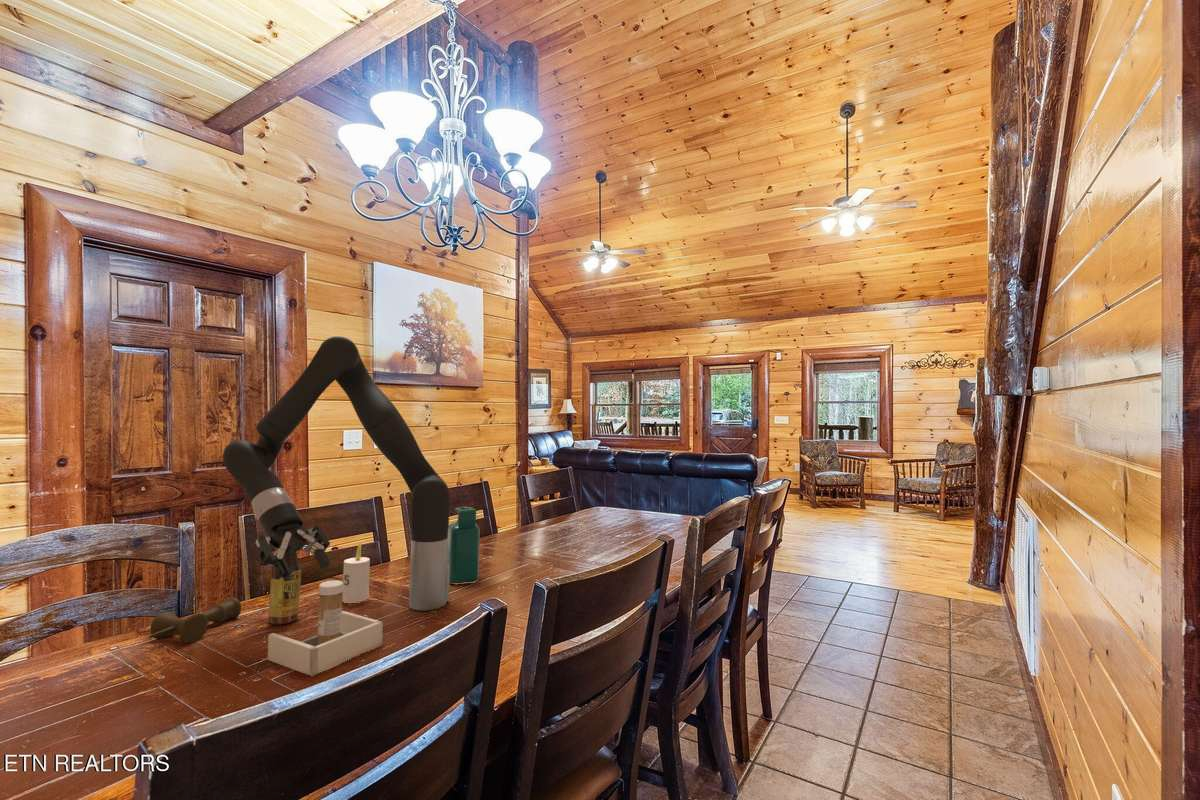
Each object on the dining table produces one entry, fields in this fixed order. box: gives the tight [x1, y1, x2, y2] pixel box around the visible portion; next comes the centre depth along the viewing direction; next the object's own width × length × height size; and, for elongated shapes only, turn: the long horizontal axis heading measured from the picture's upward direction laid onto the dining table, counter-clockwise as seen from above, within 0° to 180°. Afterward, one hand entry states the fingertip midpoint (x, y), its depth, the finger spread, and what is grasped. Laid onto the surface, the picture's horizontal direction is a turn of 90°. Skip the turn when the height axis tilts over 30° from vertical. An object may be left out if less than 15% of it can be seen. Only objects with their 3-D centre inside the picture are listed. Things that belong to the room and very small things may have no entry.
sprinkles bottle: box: [317, 579, 343, 645], centre depth 112 cm, size 5×5×13 cm
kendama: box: [147, 597, 242, 644], centre depth 121 cm, size 6×10×20 cm
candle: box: [342, 542, 371, 604], centre depth 143 cm, size 6×6×15 cm
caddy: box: [267, 610, 384, 677], centre depth 112 cm, size 16×14×5 cm
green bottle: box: [447, 506, 481, 584], centre depth 161 cm, size 10×8×22 cm
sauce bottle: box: [268, 551, 302, 626], centre depth 128 cm, size 6×6×20 cm
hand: (307, 571), depth 115 cm, fingers open, 8 cm apart
